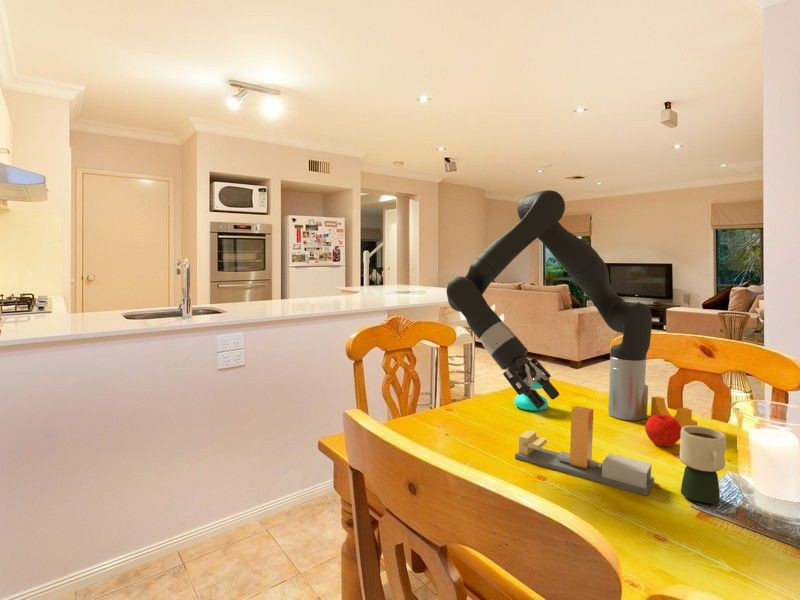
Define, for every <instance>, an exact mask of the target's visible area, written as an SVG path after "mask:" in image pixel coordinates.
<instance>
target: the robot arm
mask: <svg viewBox="0 0 800 600" xmlns="http://www.w3.org/2000/svg"><path fill="white" fill-rule="evenodd" d="M565 210H566V203H565V199H564V197H563V196H562V195H561V193H559V192H557V191H555V190H551V189H549V190H541V191H537V192H533V193H530V194H527V195H525V196H523V197H522V198H521V199H520V200H519V202H518V205H517V215H518V218H519V222H517V224H515V225H514V226H513V227H511V228H510V229H509V230H508V231H507V232H505V233H504V234H503V235H501V236H500V237H498V238H496V239H495V240H494V241H493V242H492V243H490V244H489V245H488V246H487V247H486V248H485V249H484V250H483V251H482V252H481V253H480V254H479V255H478V256H477V257H476V258H475V259H474V260H473V261H472V263H471V264H470V266H469V268H468V272H467V273H466V274H465V276H456V277H453V278H451V280H449V281H448V283H447V284H446V285H447V286H446V297H447V302H448V304H449V306H450V307H451V309H452V310H454V311H456V312H460V313H461V314H462V316H463V317H464V318H465V320H466V323H467V325H468V327H469V329H471V331H472V332H473V334H474V335H475V336H476V337H477V338H478V340H479V341H480V343H481V344H482V346H483V347H484V350H486V351H487V353H488V354H489V355H490V357H491V358H492V359H493V360H494V361H495V363H496V364H497V365H498V366H499V367H500V368H501V370H503V371H504V372H503V373H502V375H503V376H504V378H505V379H506V381H508V383H509V384H510V385H511V387H512V388H513V389H514V391H515V392H516V393H517V396H518V395H521V394H523V395H525V396H527V397H528V398H529V399H530V401H531V402H532V403H533V404H534V406H535V407H536V408H537V409H539V408H541V407H542V406H543V405H545V401H544V400H543V399H542V397H541V396H542V395H541V394H539V393H538V392H537V389H534V388H533V385H532V383H537V384H539V385H540V386H543V387H542V388H541V389H543V391H544V392H545V393H546V394H547V396H548V397H549V398H550V399H551V400H555V399H556V398H558V397H559V396H560V393H559V391H558V389H556V387H555V386H554V385H553V384H552V383H551V382H550V378H551V377H552V376H551V374H550V373H549V371H547V370H546V368H545V367H544V366H543V365H542V363H540V361H539V360H538V359H537V358H536V357H532V358H531V359H528V357H526V355H527V354H528V352H529V351H528V348H527V347H526V346H525V344H523V343H522V341H521V340H520V339H519V338H518V337H517V335H516V334H515V333H514V332H513V330H512V329H511V328H510V327H509V326H508V325H506V324H505V323H504V322H503V320H502V319H501V318H500V316H499V315H497V313H496V312H495V311H494V310H493V309H492V307H490V305H489V304H488V302H487V300H486V299H485V298H484V293H485V292H486V290H487V288H488V287H490V284H491V283H493V281H494V280H495V279H496V278H498V276H499V275H500V274H501V273H502V272H503V271H504V270H505V269H506V268H507V267H508V266H509V265H510V264H511V262H513V260H515V258H516V257H518V256H519V255H520V253H522V252H523V251H524V250H525V249H526V248H527V247H528V246H530V245H531V244H532V243H533V242H535V240H536V239H538V240H539V241H540V242H541V243H542V245H544V246H545V247H546V249H548V251H549V252H550V253H551V254H552V256H553V257H554V258H555V259H556V261H558V263H559V264H560V265H561V267H562V268H563V269H564V270H565V272H566V273H567V274H568V275H569V277H570V278H571V279H572V280H573V281H574V282H575V284H576V285H577V286H578V287H579V288H580V290H582V292H583V293H584V294H585V295H586V297H587V298H588V299H589V300H590V302H591V303H592V304H593V305H594V307H595V308H596V310H597V311H598V313H599V314H600V316H601V317H602V319H603V321H604V322H605V324H606V325H607V326H608V327H609V328H610V329H611V330H612V331H615V332H617V333H621V334H622V340H621V342H620V343H618V344H615V345H614V344H613V345H612V346H611V348H610V355H609V356H610V358H609V359H610V360H609V380H608V381H609V388H608V406H607V408H608V413H607V414H608V415H609V416H610V417H612V418H616V419H618V420H623V421H631V422H632V421H633V422H634V421H641V420H645V419H647V420H648V401H649V400H648V399H649V395H648V394H649V386H648V385H647V384H646V373H647V371H646V370H647V369H646V368H647V354H648V351H649V349H650V346H651V337H652V328H653V315H652V311H651V309H650V307H649V306H647V304H645V303H643V302H637V301H636V302H635V301H625V300H623V299H622V298H621V297H620V296H619V295H618V294H617V292H616V291H615V290H614V289H613V287H612V286H611V284H610V275H609V268H608V266H607V264H606V263H605V261H604V260H603V259H602V257H601V256H600V255H599V253H598V252H597V250H595V248H593V247H592V246H591V245H590V244H589V243H587V241H585V240H584V239H581V238H580V237H578V236H577V235H575V234H573V233H572V232H570V231H569V230H568V229H566V228H565V227H564V226H563V225H562V224H561V223H560V220H561V219H562V217H563V215H564V214H565ZM540 395H541V396H540Z"/></svg>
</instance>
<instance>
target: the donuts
mask: <svg viewBox="0 0 800 600" xmlns="http://www.w3.org/2000/svg"><path fill="white" fill-rule="evenodd" d="M532 385H533V388H534V389H535V390H540V389H543V388H542V387H543V386H540V385H539V384H537V383H532ZM534 389H533V390H534ZM539 395H540V396H541V397H542V399H543V400H544V401H545V405H543V406H542V407H541V408H539V409H537V408H536V407H535V406H534V404H533V403H532V402H531V401H530V399H529V398H528V397H527V396H525V395H523V394H521V395H518V394H517V395H516V396H515V397H514V401H513V402H514V405H515V406H516V407H517V408H518V407H519V409H520V410H523V411H528V410H530V411H531V412H539V411H543V410H545V409H547V407H548V405H549V402H548V400H547V398H546V397H545V396H543V395H541V394H539Z"/></svg>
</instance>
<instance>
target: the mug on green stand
mask: <svg viewBox="0 0 800 600" xmlns="http://www.w3.org/2000/svg"><path fill="white" fill-rule="evenodd" d="M679 441H680V443H679V461H680V462H681V463H682V464H684V465H685V467H684V472H683V477H682V480H681V485H680V486H681V488H680V493H681V495H682V496H684V497H685V498H687V499H690V500H691V501H697V502H700V503H703V502H705V503H706V504H713V505H717V504H719V503H720V502H721V496H720V495H721V494H720V493H721V492H720V483H719V476H718V473H717V472H720V471H723V469H724V468H725V467H726V460H725V453H726V450H727V435H726V433H724V432H723V431H720V430H718V429H714V428H712V427H706V426H701V425H697V426H685V427H682V429H681V438H680V439H679ZM705 503H704V504H705Z"/></svg>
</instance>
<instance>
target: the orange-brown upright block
mask: <svg viewBox="0 0 800 600" xmlns="http://www.w3.org/2000/svg"><path fill="white" fill-rule="evenodd" d="M570 413H571V414H570V416H571V417H570V445H569V446H570V447H569V449H570V450H569V452H566V451H560V452H559V453H560V454H558V460H559V461H563V462H567V463H570V465H574V466H577V467H581V468H585V469H587V468H588V467H592V468H599V469H602V462H599V461H597V460H593V459H592V457H593V434H594V432H593V431H594V409H593V408H590V407H585V406H584V407H583V406H579V405H576V406H575V407H573V408H572V409H571V412H570Z"/></svg>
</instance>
